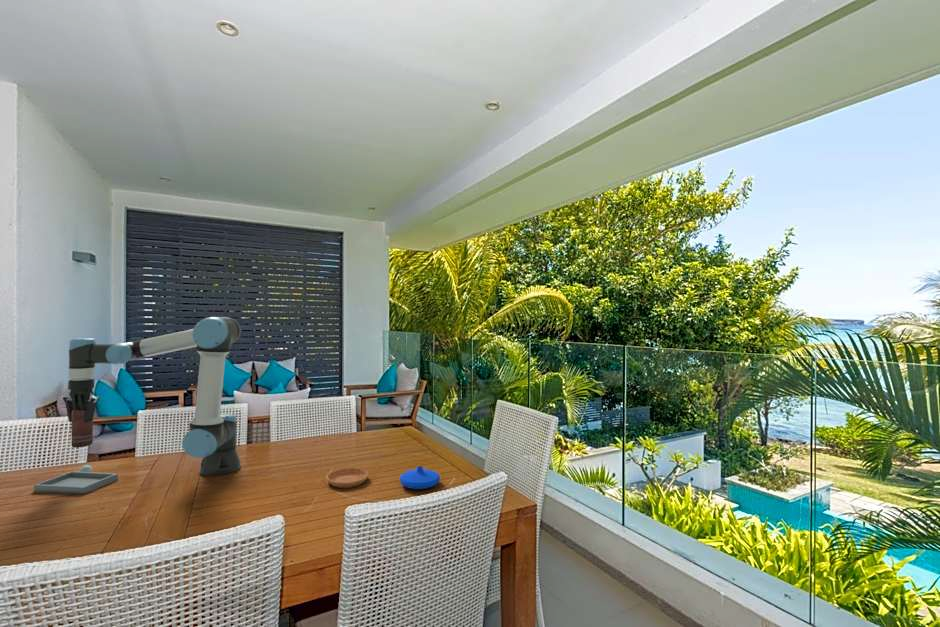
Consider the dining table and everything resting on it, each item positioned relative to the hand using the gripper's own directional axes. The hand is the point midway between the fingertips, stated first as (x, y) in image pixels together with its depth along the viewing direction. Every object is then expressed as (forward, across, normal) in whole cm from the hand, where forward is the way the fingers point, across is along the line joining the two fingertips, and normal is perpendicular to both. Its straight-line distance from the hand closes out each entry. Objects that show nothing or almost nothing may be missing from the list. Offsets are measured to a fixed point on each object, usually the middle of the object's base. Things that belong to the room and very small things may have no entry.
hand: (80, 440), depth 169 cm
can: (+2, 0, -1) cm, 2 cm away
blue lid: (+16, -129, -15) cm, 131 cm away
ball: (+17, +8, -11) cm, 22 cm away
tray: (+17, 0, 0) cm, 17 cm away
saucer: (+16, -100, -15) cm, 102 cm away
